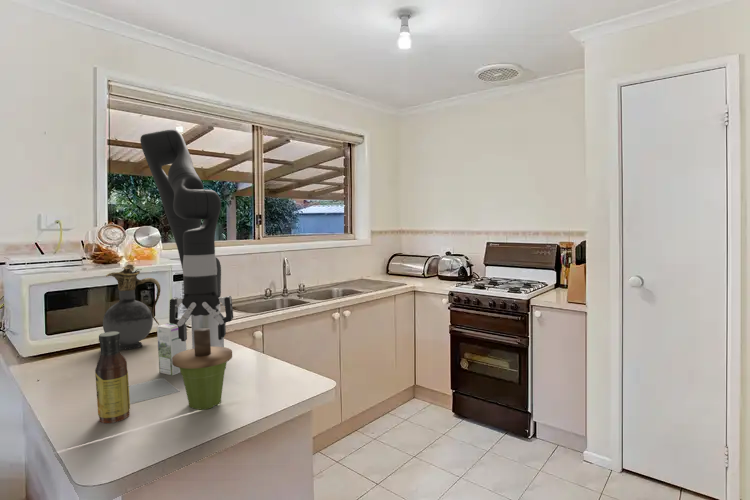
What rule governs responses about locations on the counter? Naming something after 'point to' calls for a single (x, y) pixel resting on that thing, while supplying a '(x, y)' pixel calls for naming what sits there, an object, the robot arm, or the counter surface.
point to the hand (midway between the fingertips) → (202, 339)
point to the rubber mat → (150, 390)
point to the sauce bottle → (112, 380)
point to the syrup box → (169, 347)
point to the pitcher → (130, 310)
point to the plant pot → (204, 385)
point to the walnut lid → (202, 353)
